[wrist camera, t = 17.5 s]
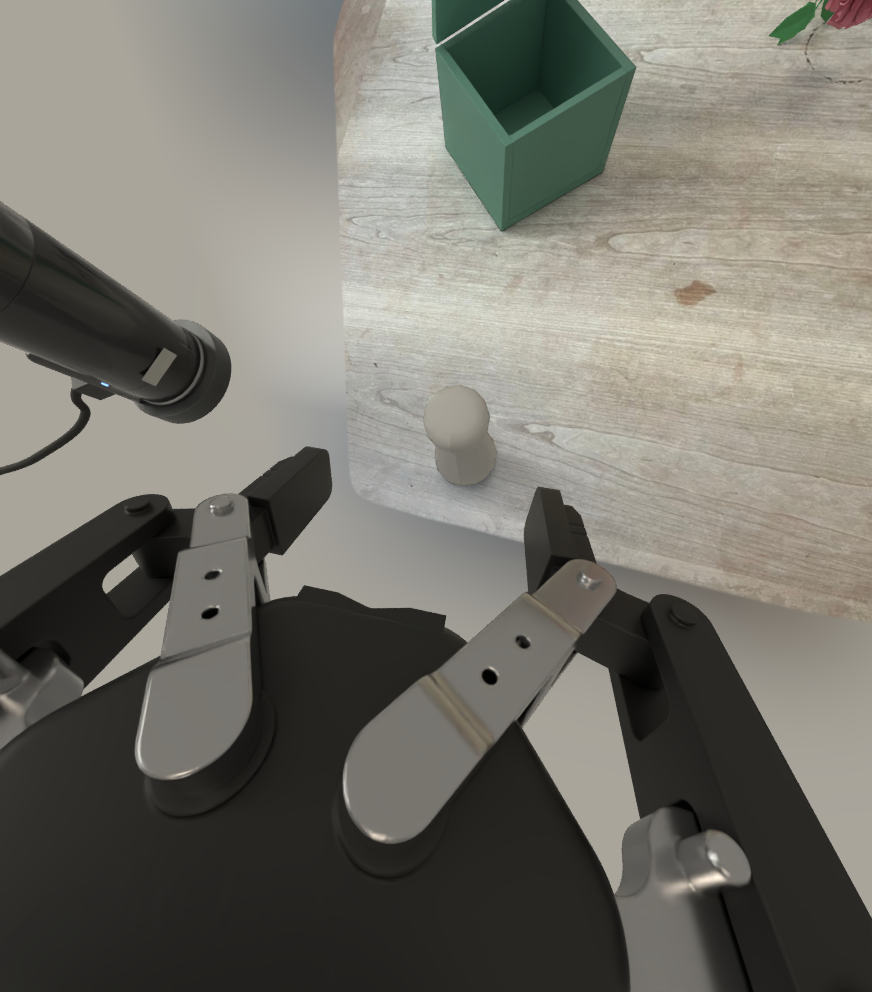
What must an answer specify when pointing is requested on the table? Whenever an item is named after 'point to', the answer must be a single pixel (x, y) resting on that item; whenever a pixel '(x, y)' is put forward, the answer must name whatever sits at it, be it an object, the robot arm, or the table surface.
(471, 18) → the chest lid
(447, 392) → the salt shaker
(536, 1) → the storage chest
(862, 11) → the flower vase
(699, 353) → the table surface
